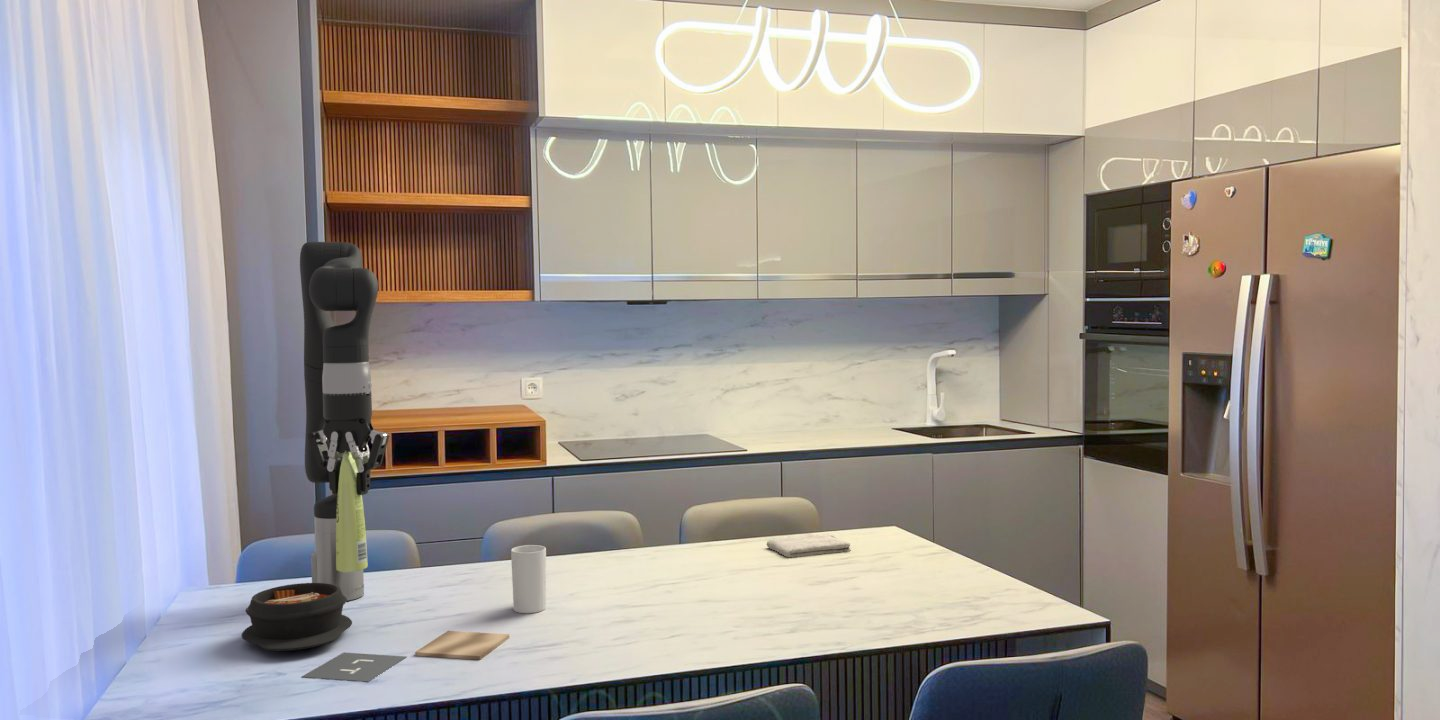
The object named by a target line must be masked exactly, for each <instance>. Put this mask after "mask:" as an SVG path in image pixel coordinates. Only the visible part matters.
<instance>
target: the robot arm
mask: <svg viewBox="0 0 1440 720" xmlns="http://www.w3.org/2000/svg"><path fill="white" fill-rule="evenodd" d="M299 255H300V256H299V270H300V271H299V273H300V284H301V287H300V288H301V297H302V308H303V309H302V310H303V325H304V327H303V331H304V332H303V333H304V334H303V337H304V339H303V371H304V372H303V373H304V374H303V376H304V377H303V378H304V379H303V381H304V391H305V392H304V394H305V395H304V396H305V411H306V412H305V414H306V415H305V417H306V418H305V419H306V420H305V438H304V439H305V442H304V470H305V471H304V472H305V475H306V478H307V480H308V481H309V482H311V483H314V484H324V483H329V487H328V488H329V489H330V491H331V493H332V494H331V495H328V496H325V497H323V498H321V499H319V500H317V501H315V503H314V505H313V515H314V519H313V520H314V521H313V522H314V546H315V547H314V548H315V549H314V552H311V555H310V558H311V559H310V561H311V562H310V563H311V564H310V565H311V583H326V584H332V585H336V586H338V587H339V588H340V589H341V591H342V594H343V595H344V596H345V597H346V598H347V601H352V600H357V599H359V598H361V597H362V596H364V594H365V584H364V580H365V579H364V569H363V570H360V571H355V572H340V571H338V570H336V514H337V495H338V484H339V474H340V467H341V463H342V459H343V455H344V454H346V453H348V452H351V455H352V458H353V459H354V460H355V463H356V466H357V470H358V473H356V477H357V494H358V495H362V496H363V495H367V494H368V492H369V491H370V490H371V471H372V470H373V469H376V468H379V467H381V466H382V463H383V461H384V457H385V453H386V450H387V445H388V442H389V438H390V434H389V433H388V432H385V431H384V432H381V431H378V430H375V429H374V426H373V423H372V416H373V407H372V406H373V399H372V396H373V395H372V386H373V385H372V375H371V374H372V373H371V368H370V362H369V361H370V359H369V358H370V357H369V356H370V355H369V353H370V352H369V348H370V347H369V334H370V333H369V331H370V325H371V322H372V321H371V320H372V316H373V312H374V310H375V306H376V302H377V298H378V293H379V281H378V278H377V276H376V275H375V273H374V272H373V271H372V270H370V269H369V268H365V267H364V265H363V264H364V263H363V255H362V252H361V250H360V248H359V247H358V246H357V245H356V244H355V243H351V242H345V241H343V242H342V241H307V242H305V243H304V244H303V245H302V247H301V248H300V253H299ZM328 312H355V316H354V318H353V319H352V320H351V321H349V322H347V323H343V324H339V325H336V323H335V322H334V320H333V319H332V318H331V316H330V314H329V313H328ZM370 439H371V440H370ZM369 441H370V443H371V444H372V445H371V448H369V445H368V443H369ZM347 601H346V602H347Z"/></svg>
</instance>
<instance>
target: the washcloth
mask: <svg viewBox="0 0 1440 720" xmlns="http://www.w3.org/2000/svg"><path fill="white" fill-rule="evenodd" d="M765 545H766V547H767V548H768V549H769V548H770V549H769V550H771V549H772V550H771V551H773V550H775V551H774V552H776V551H777V552H776V553H778V552H779V553H780V554H779V553H778V554H779V555H781V554H782V555H781V556H783V555H784V556H783V557H785V556H786V557H785V558H787V557H792V558H798V557H797V556H801V557H805V556H804V555H810V556H814V555H813V554H818V555H819V554H820V555H824V553H829V554H835V552H838V553H844V552H845V553H846V551H848V552H851V548H850V546H851V542H848V541H846V540H842V539H840V538H839V537H836V536H835V535H831V534H829V533H825V534H813V533H806V534H802V535H791V536H790V535H789V536H784V537H776V538H775V537H774V538H770V539H769V540H767V542H766V544H765Z"/></svg>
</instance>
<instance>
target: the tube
mask: <svg viewBox="0 0 1440 720" xmlns="http://www.w3.org/2000/svg"><path fill="white" fill-rule="evenodd" d="M356 473H358V470H357V466H356V463H355V460H354V459H353V458H352V455H351V452H348V453H346V454H344V455H343V459H342V463H341V467H340V474H339V484H338V495H337V514H336V570H338V571H340V572H355V571H360V570H363V571H364V570H365V569H367V568H368V567H369V565H368V562H369V561H368V550H367V549H368V546H367V533H366V521H365V510H364V509H365V508H364V502H363V495H358V494H357V477H356Z"/></svg>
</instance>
